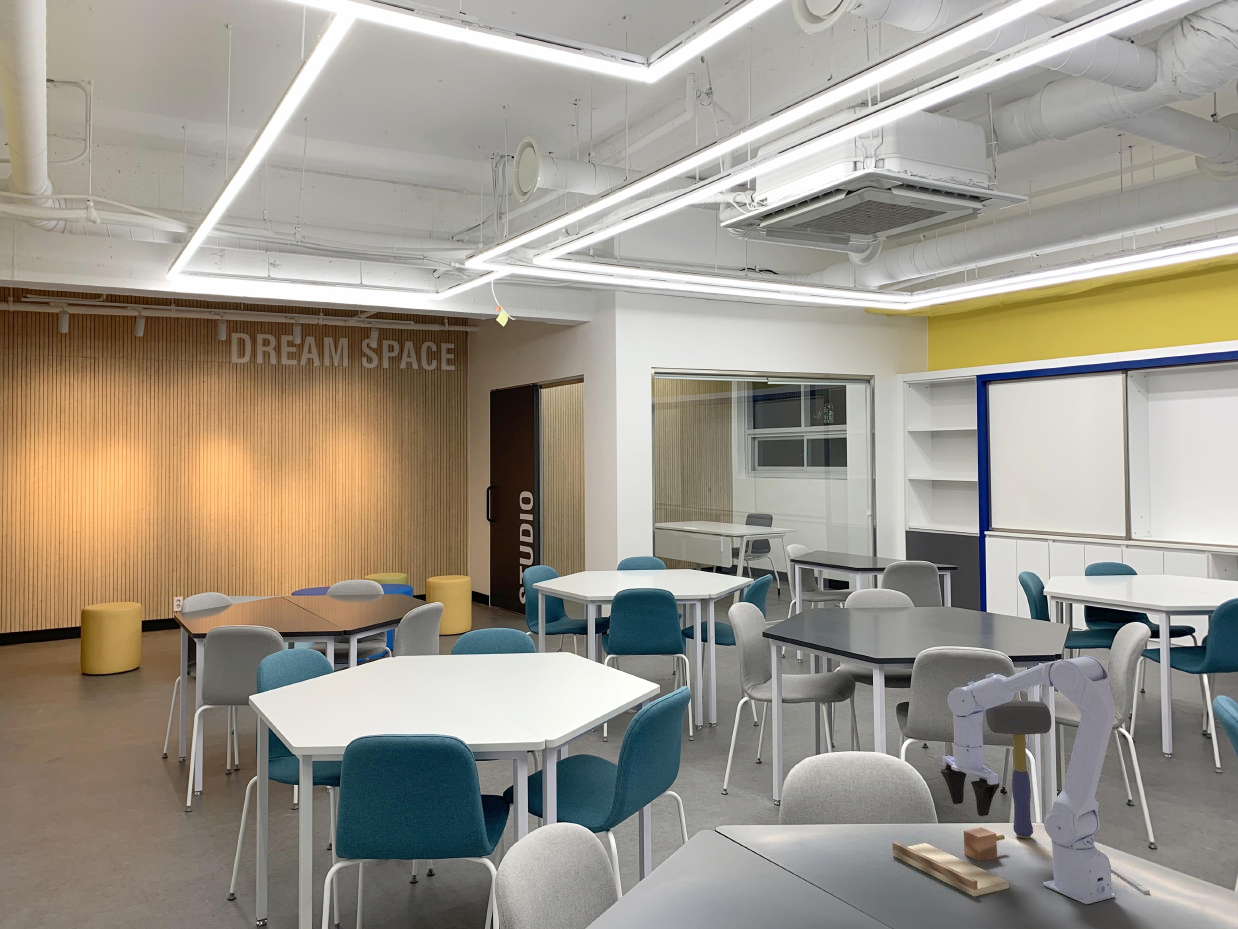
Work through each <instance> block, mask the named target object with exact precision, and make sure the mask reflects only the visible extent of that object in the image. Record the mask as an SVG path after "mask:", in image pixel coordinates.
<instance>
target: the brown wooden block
mask: <svg viewBox="0 0 1238 929" xmlns="http://www.w3.org/2000/svg"><path fill="white" fill-rule="evenodd" d="M1005 838H1006V837H1005V835H1004V834H997V833H996V832H994V831H991V830H989V829H986V828H984V827H982V826H981V827H977V828H972V829H971V828H970V829H966V830H963V845H964V846H963V848H964V849H963V851H964V856H967V857H968V858H971V859H973V860H975V861H977V862H983V861H988V860H992V859H993V860H994V859H996V858H997V859H998V848H997V847H998V843H997V841H1003V840H1005Z"/></svg>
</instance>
